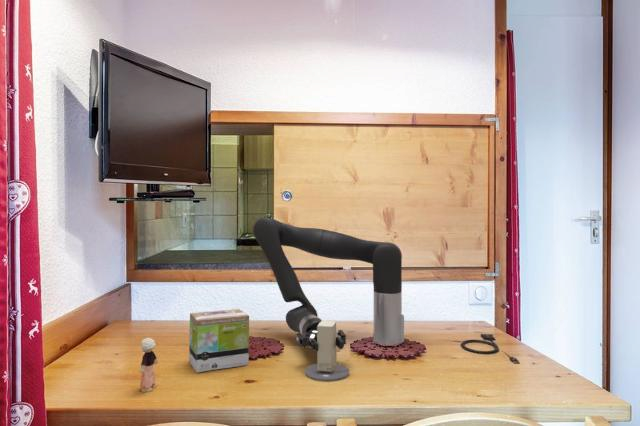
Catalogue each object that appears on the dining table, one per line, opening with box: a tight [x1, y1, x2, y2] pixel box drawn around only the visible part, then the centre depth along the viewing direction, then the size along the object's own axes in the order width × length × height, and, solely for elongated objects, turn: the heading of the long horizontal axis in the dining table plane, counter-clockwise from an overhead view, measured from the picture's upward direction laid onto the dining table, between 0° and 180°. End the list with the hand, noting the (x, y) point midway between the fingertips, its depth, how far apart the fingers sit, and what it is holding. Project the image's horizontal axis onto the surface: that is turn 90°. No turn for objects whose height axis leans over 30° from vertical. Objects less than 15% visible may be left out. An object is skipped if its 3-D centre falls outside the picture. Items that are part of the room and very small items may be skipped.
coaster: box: [304, 363, 350, 382], centre depth 125 cm, size 12×12×1 cm
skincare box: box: [316, 320, 338, 372], centre depth 125 cm, size 6×4×12 cm
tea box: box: [188, 308, 250, 374], centre depth 132 cm, size 15×10×15 cm, turn 118°
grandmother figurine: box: [139, 337, 158, 393], centre depth 114 cm, size 8×4×13 cm, turn 5°
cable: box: [460, 333, 520, 365], centre depth 147 cm, size 14×28×2 cm, turn 175°
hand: (329, 346), depth 123 cm, fingers closed on skincare box, 6 cm apart
